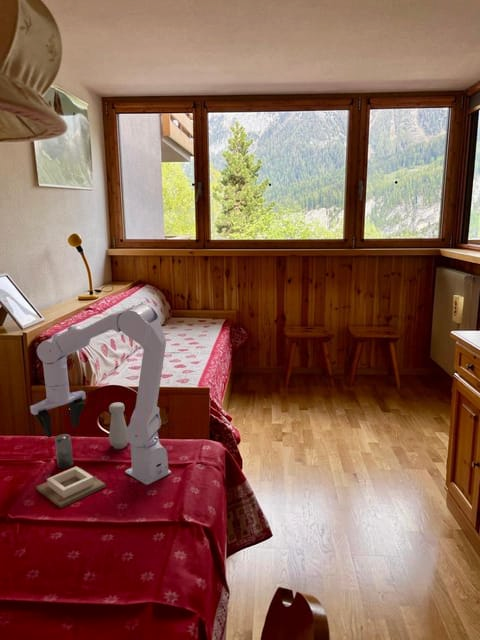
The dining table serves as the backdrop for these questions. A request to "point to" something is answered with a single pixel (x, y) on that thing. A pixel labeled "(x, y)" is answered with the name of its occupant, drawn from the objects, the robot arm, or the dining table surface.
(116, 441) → the salt shaker
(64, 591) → the dining table surface
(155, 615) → the dining table surface
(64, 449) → the peg
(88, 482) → the socket board
